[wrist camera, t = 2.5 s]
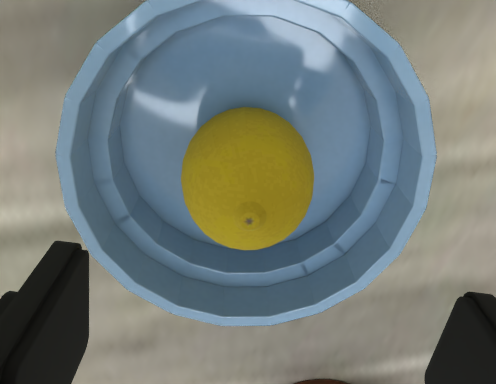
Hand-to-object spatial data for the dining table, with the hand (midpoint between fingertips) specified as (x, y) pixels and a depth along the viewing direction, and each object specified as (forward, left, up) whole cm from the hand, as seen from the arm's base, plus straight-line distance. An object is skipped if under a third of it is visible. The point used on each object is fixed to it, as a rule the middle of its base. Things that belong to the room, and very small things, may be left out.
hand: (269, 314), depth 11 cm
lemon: (0, 0, -13) cm, 13 cm away
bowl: (0, 0, -13) cm, 13 cm away
